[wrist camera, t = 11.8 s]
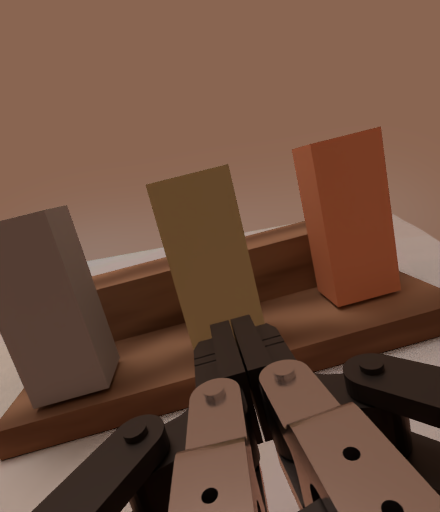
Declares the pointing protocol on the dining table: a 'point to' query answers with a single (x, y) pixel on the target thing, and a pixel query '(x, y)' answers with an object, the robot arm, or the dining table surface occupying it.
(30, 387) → the slate key
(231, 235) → the khaki rectangular block
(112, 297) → the console
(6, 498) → the dining table surface
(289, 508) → the dining table surface
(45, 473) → the dining table surface
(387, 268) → the terracotta key
